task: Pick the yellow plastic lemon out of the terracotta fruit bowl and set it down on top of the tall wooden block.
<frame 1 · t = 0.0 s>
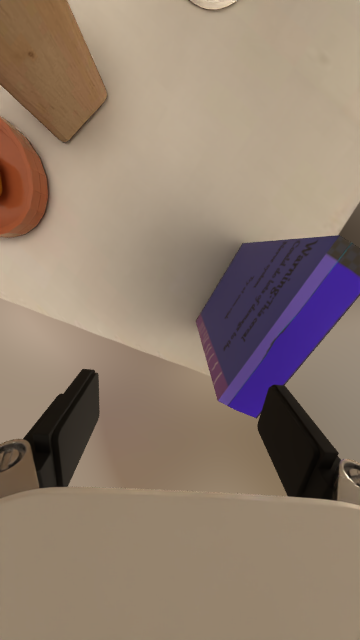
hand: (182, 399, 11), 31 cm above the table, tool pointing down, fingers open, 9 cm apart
cereal box: (227, 290, 41), on the table
wooden block: (64, 91, 30), on the table
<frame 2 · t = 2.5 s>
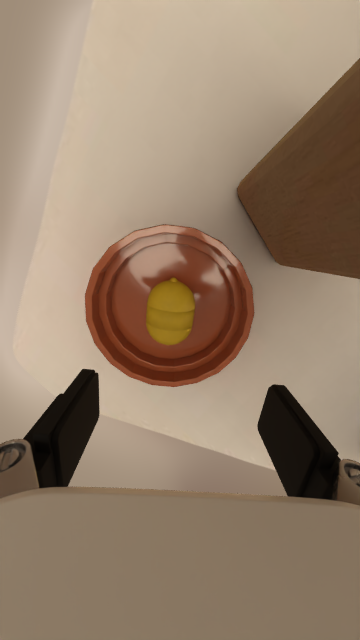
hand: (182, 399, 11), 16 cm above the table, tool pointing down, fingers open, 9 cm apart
fruit bowl: (171, 305, 25), on the table
lemon: (171, 306, 25), point 1 cm above the table, touching fruit bowl
wooden block: (294, 200, 22), on the table
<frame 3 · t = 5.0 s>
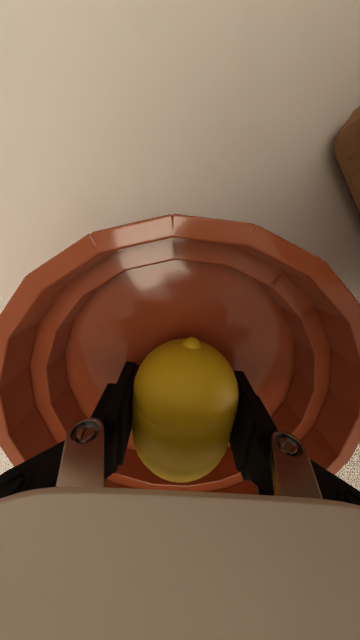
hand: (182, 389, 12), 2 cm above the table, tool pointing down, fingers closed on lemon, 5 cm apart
fruit bowl: (181, 371, 14), on the table
lemon: (181, 376, 13), point 1 cm above the table, touching fruit bowl, gripper
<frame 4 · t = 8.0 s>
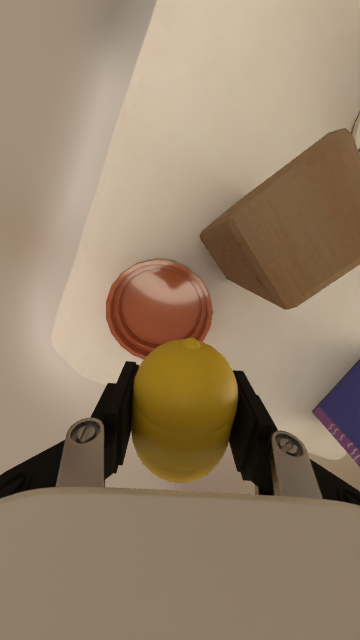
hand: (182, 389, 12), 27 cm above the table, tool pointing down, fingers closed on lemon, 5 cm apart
cereal box: (345, 386, 45), on the table
fruit bowl: (161, 307, 38), on the table
lemon: (181, 376, 13), point 25 cm above the table, touching gripper
wooden block: (237, 241, 35), on the table
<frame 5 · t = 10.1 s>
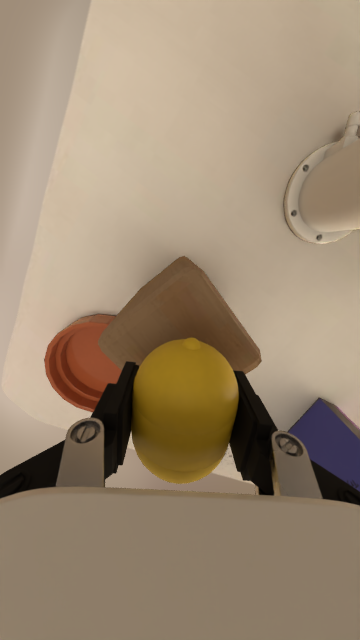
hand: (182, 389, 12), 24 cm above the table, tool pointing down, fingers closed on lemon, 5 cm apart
cereal box: (300, 429, 45), on the table
fruit bowl: (107, 358, 38), on the table
lemon: (181, 376, 13), point 23 cm above the table, touching gripper
wooden block: (178, 296, 35), on the table
when the fingers open (21 cm above the table, at t = 11.3 s): lemon stays where it is, resting on wooden block.
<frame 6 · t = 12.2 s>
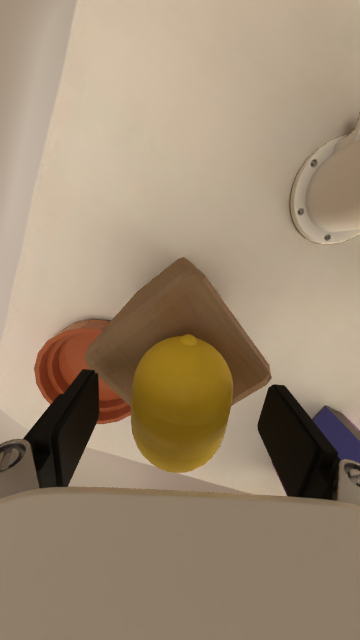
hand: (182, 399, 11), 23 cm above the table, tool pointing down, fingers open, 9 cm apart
cereal box: (305, 438, 43), on the table
fruit bowl: (102, 365, 36), on the table
lemon: (179, 373, 14), point 20 cm above the table, touching wooden block
wooden block: (177, 300, 33), on the table, touching lemon
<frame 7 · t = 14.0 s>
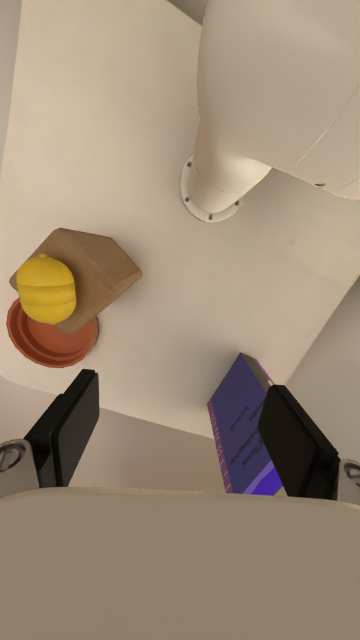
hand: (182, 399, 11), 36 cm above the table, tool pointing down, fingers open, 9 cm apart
cereal box: (230, 382, 54), on the table
fruit bowl: (61, 324, 47), on the table
lemon: (61, 287, 25), point 20 cm above the table, touching wooden block
wooden block: (111, 270, 44), on the table, touching lemon
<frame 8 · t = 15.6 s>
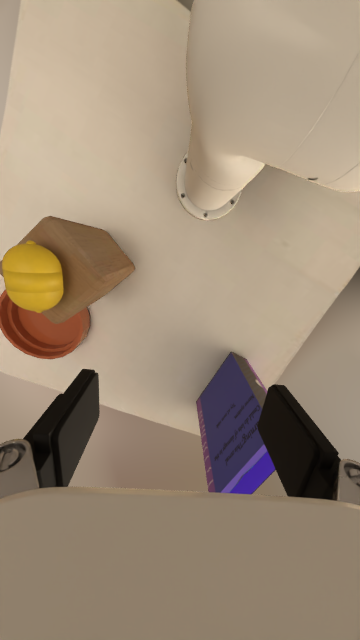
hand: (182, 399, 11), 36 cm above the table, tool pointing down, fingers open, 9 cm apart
cereal box: (220, 380, 54), on the table
fruit bowl: (52, 315, 47), on the table
lemon: (49, 275, 25), point 20 cm above the table, touching wooden block
wooden block: (104, 263, 44), on the table, touching lemon
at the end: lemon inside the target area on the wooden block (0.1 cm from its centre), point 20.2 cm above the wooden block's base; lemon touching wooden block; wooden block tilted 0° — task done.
